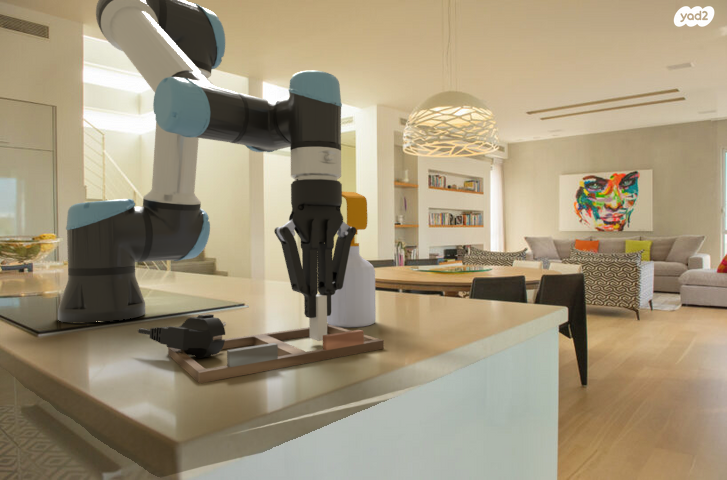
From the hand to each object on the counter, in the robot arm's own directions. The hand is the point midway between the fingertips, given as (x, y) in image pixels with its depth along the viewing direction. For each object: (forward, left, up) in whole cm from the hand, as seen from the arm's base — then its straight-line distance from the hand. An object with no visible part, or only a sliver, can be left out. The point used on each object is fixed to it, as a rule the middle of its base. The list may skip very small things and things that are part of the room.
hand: (318, 338), depth 69 cm
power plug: (-12, -20, +2) cm, 23 cm away
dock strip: (0, -7, -1) cm, 7 cm away
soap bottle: (-12, +13, -1) cm, 18 cm away
